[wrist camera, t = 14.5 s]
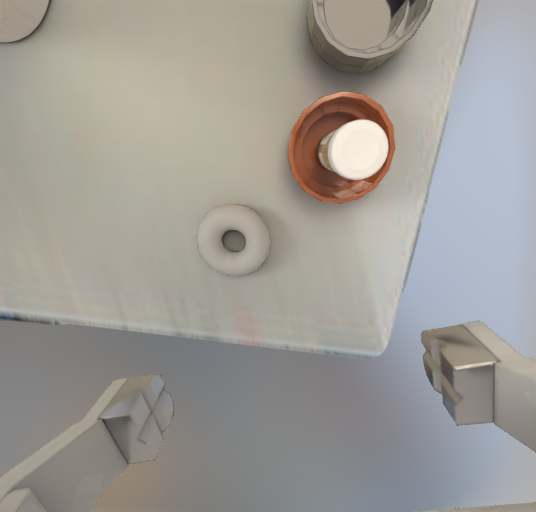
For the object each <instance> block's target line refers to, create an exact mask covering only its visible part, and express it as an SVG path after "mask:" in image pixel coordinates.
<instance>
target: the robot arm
mask: <svg viewBox="0 0 536 512" xmlns="http://www.w3.org/2000/svg"><path fill="white" fill-rule="evenodd" d="M48 3H49V0H0V42H12V41H17V40H20V39H22V38H24V37H26V36H27V35H29V34H30V33H31V32H32V31H34V30H35V29H36V27H37V26H38V25H39V23H40V22H41V20H42V19H43V17H44V15H45V12H46V10H47V7H48ZM421 342H422V344H423V346H424V347H425V348H426V352H425V353H424V355H423V361H424V367H425V371H426V374H427V377H428V379H429V381H430V383H431V385H432V386H433V388H434V390H435V391H437V392H439V393H441V394H442V396H443V404H444V406H445V407H446V409H447V410H448V412H449V414H450V415H451V417H452V418H453V420H454V422H455V423H456V425H457V426H459V425H470V424H482V423H493V422H494V424H495V425H496V426H498V427H499V428H501V429H502V430H504V431H505V432H507V433H508V434H509V435H511V436H513V437H514V438H515V439H517V440H518V441H520V442H521V443H523V444H524V445H526V446H528V447H529V448H530V449H532V450H533V451H535V452H536V359H535V358H527V359H526V358H525V357H523V356H522V355H521V354H520V353H519V352H518V351H516V350H515V349H514V348H513V347H512V346H511V345H509V344H508V343H507V342H506V341H505V340H503V339H502V338H501V337H500V336H499V335H498V334H496V333H495V332H494V331H493V330H492V329H491V328H489V327H488V326H487V325H486V324H485V323H483V322H481V321H473V322H468V323H462V324H459V325H455V326H449V327H443V328H437V329H431V330H425V331H422V333H421ZM165 384H166V382H165V381H164V379H163V377H162V375H160V374H152V375H144V376H137V377H131V378H124V379H118V380H115V381H113V382H112V383H111V384H110V385H109V387H108V388H107V389H106V391H105V392H104V393H103V394H102V396H101V397H100V398H99V400H98V401H97V402H96V403H95V405H94V406H93V407H92V409H91V410H90V411H89V412H88V414H87V415H86V416H85V418H84V419H83V420H82V421H81V422H77V423H76V424H74V425H73V426H71V427H70V428H68V429H67V430H66V431H64V432H63V433H62V434H60V435H59V436H58V437H56V438H55V439H54V440H52V441H50V442H49V443H48V444H46V445H45V446H44V447H42V448H41V449H39V450H38V451H37V452H35V453H34V454H32V455H31V456H30V457H29V458H27V459H26V460H24V461H23V462H21V463H20V464H19V465H17V466H16V467H14V468H13V469H12V470H10V471H9V472H8V473H6V474H5V475H3V476H2V477H1V478H0V512H88V511H89V510H90V509H91V508H92V507H93V506H94V504H95V503H96V502H97V501H98V500H99V499H100V498H101V497H102V495H103V494H104V493H105V492H106V491H107V490H108V489H109V488H110V486H111V485H112V484H113V483H114V482H115V481H116V480H117V478H118V477H119V476H120V475H121V474H122V473H123V472H124V471H125V469H126V468H127V467H128V465H129V464H136V463H142V462H149V461H155V459H156V456H157V454H158V452H159V450H160V447H161V445H162V443H163V440H164V437H163V432H164V431H165V430H166V429H167V428H168V427H169V426H170V424H171V422H172V419H173V416H174V402H173V398H172V396H171V394H170V393H169V392H167V391H166V390H165V389H164V387H165ZM418 512H536V502H533V503H521V504H507V505H494V506H482V507H469V508H457V509H456V508H455V509H443V510H431V511H418Z"/></svg>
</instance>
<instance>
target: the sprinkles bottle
mask: <svg viewBox="0 0 536 512" xmlns="http://www.w3.org/2000/svg"><path fill="white" fill-rule="evenodd" d="M388 147H389V146H388V139H387V136H386V134H385V132H384V130H383V129H382V128H381V127H380V126H379V125H378V124H376V123H375V122H372V121H370V120H355V121H352V122H349V123H347V124H345V125H343V126H342V127H340V128H339V129H337V130H335V131H333V132H331V133H328V134H326V135H325V136H323V137H322V138H321V139H320V141H319V142H318V144H317V146H316V150H315V154H316V159H317V162H318V163H319V165H320V166H321V167H322V168H324V169H326V170H329V171H333V172H336V173H337V174H339V175H340V176H342V177H345V178H347V179H352V180H361V179H365V178H368V177H370V176H372V175H373V174H375V173H376V172H377V171H378V170H379V169H380V168H381V167H382V165H383V164H384V162H385V160H386V158H387V154H388Z"/></svg>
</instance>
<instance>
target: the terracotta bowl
mask: <svg viewBox="0 0 536 512" xmlns="http://www.w3.org/2000/svg"><path fill="white" fill-rule="evenodd" d="M355 120H370V121H372V122H375V123H376V124H378V125H379V126H380V127H381V128H382V129H383V130H384V132H385V134H386V136H387V139H388V146H389V147H388V154H387V158H386V160H385V162H384V164H383V165H382V167H381V168H380V169H379V170H378V171H377V172H376V173H375V174H373V175H372V176H370V177H368V178H365V179H361V180H352V179H347V178H345V177H342V176H340V175H339V174H337V173H336V172H333V171H329V170H326V169H324V168H322V167H321V166H320V165H319V163H318V162H317V159H316V154H315V150H316V146H317V144H318V142H319V141H320V139H321V138H322V137H323V136H325V135H326V134H328V133H331V132H333V131H335V130H337V129H339V128H340V127H342V126H343V125H345V124H347V123H349V122H352V121H355ZM394 150H395V141H394V131H393V125H392V123H391V121H390V120H389V118H388V116H387V114H386V113H385V111H384V109H383V107H382V106H380V105H379V104H378V103H376V102H375V101H373V100H372V99H370V98H369V97H368V96H366V95H364V94H359V93H353V92H346V91H341V92H337V93H334V94H330V95H327V96H323V97H321V98H319V99H318V100H317V101H316V102H314V103H313V104H312V105H311V106H309V107H308V108H307V109H306V110H304V111H303V112H302V114H301V116H300V118H299V119H298V121H297V123H296V125H295V126H294V128H293V130H292V132H291V137H290V143H289V149H288V157H289V161H290V166H291V171H292V174H293V176H294V177H295V179H296V180H297V182H298V183H299V184H300V186H301V187H302V189H303V190H304V191H305V192H307V193H309V194H310V195H312V196H313V197H315V198H317V199H318V200H320V201H326V202H332V203H338V204H339V203H344V202H348V201H352V200H357V199H359V198H361V197H362V196H364V195H365V194H367V193H368V192H370V191H371V190H373V189H374V188H376V187H377V185H378V184H379V183H380V181H381V180H382V178H383V177H384V176H385V174H386V173H387V172H388V170H389V168H390V164H391V161H392V157H393V154H394Z"/></svg>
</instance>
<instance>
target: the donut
mask: <svg viewBox="0 0 536 512" xmlns="http://www.w3.org/2000/svg"><path fill="white" fill-rule="evenodd" d="M228 230H237V231H239V232H241V233H242V234H243V235H244V237H245V239H246V245H245V247H244V249H243V250H241V251H239V252H231V251H229V250H227V249H226V248H225V247H224V245H223V243H222V236H223V234H224V233H225V232H226V231H228ZM270 239H271V237H270V234H269V230H268V227H267V225H266V223H265V222H264V221H263V219H262V218H261V216H260V215H258V214H257V213H256V212H255V211H253V210H252V209H250V208H248V207H245V206H242V205H235V204H227V205H223V206H220V207H216V208H215V209H213V210H212V211H211V212H209V213H208V214H207V215H206V216H205V217H204V219H203V220H202V222H201V223H200V226H199V229H198V233H197V246H198V249H199V251H200V254H201V256H202V258H203V259H204V260H205V262H206V263H207V264H208V265H209V266H210V267H212V268H213V269H214V270H216V271H217V272H220V273H222V274H225V275H228V276H241V275H245V274H249V273H251V272H253V271H254V270H256V269H258V268H259V267H260V266H261V265H262V263H263V262H264V261H265V260H266V258H267V256H268V253H269V250H270Z"/></svg>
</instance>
